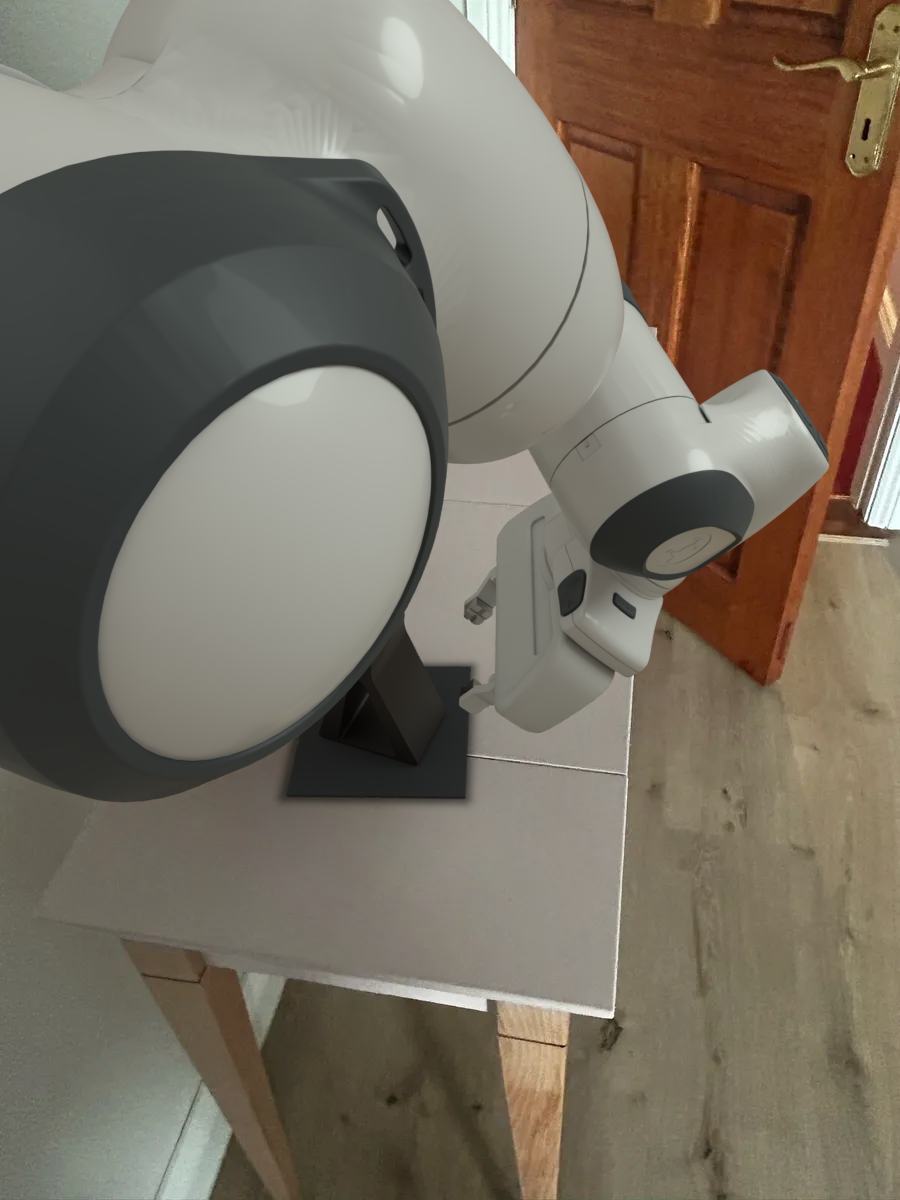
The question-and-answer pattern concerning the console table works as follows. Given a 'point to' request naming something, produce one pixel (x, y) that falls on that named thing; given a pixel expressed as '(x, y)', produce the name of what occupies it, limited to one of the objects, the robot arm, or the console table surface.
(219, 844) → the console table surface
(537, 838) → the console table surface
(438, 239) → the robot arm
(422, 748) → the phone stand
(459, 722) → the mat
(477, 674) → the console table surface
